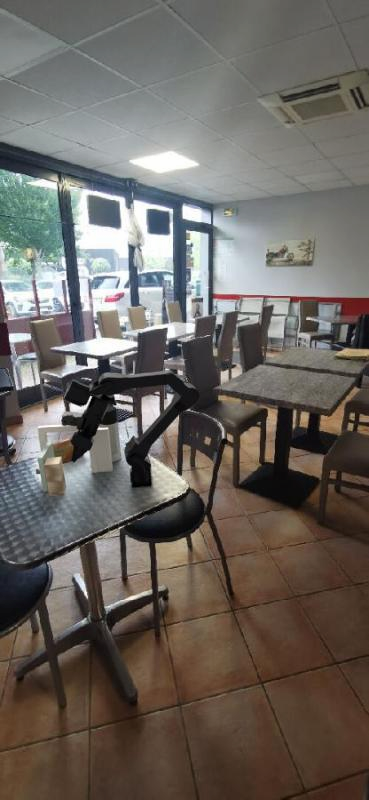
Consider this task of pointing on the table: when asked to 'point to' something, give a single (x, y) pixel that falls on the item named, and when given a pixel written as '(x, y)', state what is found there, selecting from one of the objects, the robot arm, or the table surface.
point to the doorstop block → (55, 476)
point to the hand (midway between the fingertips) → (75, 455)
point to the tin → (63, 450)
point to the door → (42, 458)
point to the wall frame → (98, 452)
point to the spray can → (112, 432)
